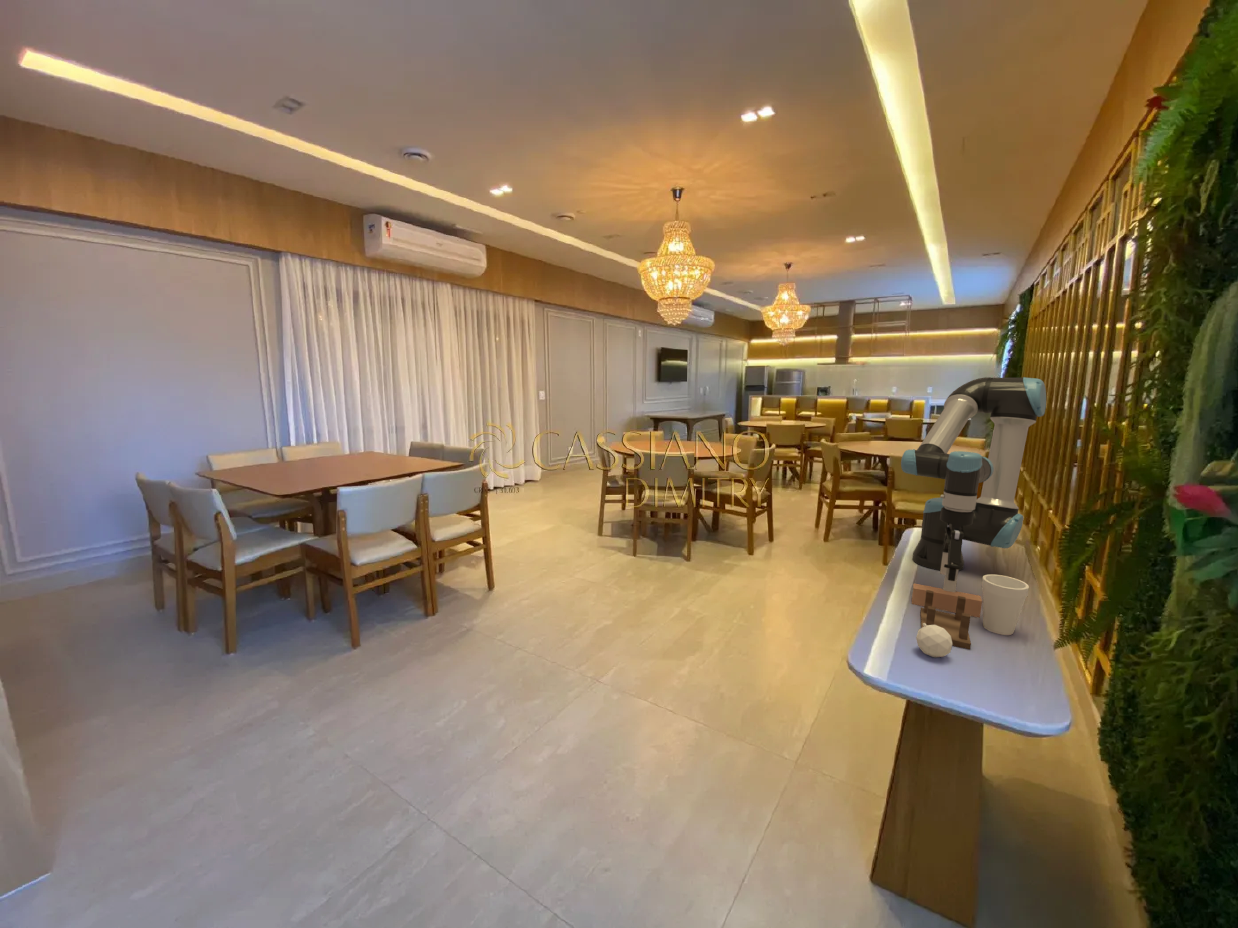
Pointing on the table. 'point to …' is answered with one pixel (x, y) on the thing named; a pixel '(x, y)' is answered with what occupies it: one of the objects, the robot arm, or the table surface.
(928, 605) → the rack
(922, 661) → the table surface
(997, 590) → the foam cup
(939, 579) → the table surface
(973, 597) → the clay bar
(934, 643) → the cream rounded egg shape
